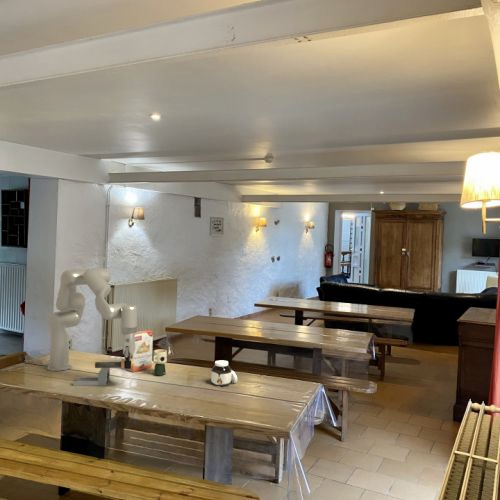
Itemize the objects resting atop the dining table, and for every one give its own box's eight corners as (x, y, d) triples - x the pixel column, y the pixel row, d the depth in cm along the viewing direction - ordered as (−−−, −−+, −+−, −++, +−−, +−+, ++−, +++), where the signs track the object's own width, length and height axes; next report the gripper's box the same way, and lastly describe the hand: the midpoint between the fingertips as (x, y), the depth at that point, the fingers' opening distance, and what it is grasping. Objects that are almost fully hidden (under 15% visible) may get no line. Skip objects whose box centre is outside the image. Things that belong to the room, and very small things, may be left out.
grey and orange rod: (94, 369, 236) (94, 360, 236) (96, 366, 240) (96, 357, 240) (133, 368, 238) (134, 359, 238) (135, 366, 242) (135, 357, 242)
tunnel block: (72, 385, 240) (73, 373, 240) (77, 379, 250) (77, 368, 250) (106, 385, 242) (106, 373, 242) (109, 379, 252) (109, 367, 251)
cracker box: (133, 372, 265) (133, 334, 264) (125, 370, 268) (126, 333, 268) (152, 367, 276) (153, 331, 275) (145, 365, 279) (146, 329, 279)
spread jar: (208, 385, 247) (209, 362, 247) (220, 379, 257) (220, 357, 257) (229, 389, 242) (229, 365, 241) (240, 383, 252) (240, 360, 251)
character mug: (158, 378, 256) (159, 353, 256) (148, 376, 259) (148, 352, 259) (171, 373, 266) (171, 349, 265) (160, 371, 269) (161, 348, 268)
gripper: (134, 333, 231) (134, 371, 232) (138, 327, 248) (138, 362, 248) (118, 333, 230) (117, 372, 231) (123, 327, 247) (123, 362, 248)
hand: (128, 366), depth 240 cm, fingers closed on grey and orange rod, 4 cm apart
